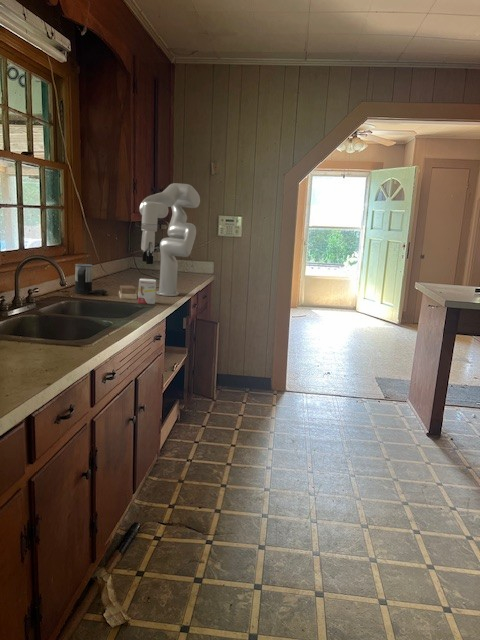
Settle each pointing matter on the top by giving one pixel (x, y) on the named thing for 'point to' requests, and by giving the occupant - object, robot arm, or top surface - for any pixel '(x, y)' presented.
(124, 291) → the walnut slab
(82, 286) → the milk frother
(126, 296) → the maple slab
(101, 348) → the top surface
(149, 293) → the ink box
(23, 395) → the top surface
